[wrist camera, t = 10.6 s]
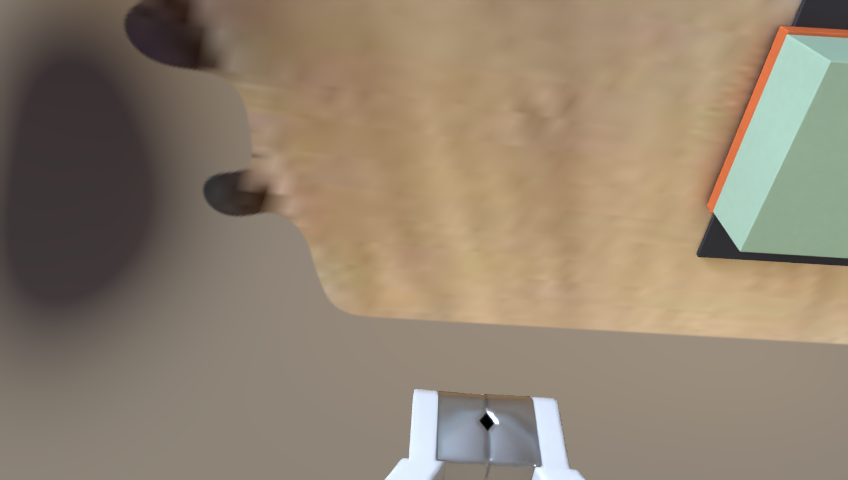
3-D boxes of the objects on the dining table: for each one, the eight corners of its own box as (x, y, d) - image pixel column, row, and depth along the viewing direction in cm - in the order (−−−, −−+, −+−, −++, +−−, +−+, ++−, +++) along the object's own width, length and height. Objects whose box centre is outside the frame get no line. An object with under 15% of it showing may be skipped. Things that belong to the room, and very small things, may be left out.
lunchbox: (736, 259, 36) (874, 268, 36) (836, 48, 28) (1013, 59, 28) (704, 211, 40) (826, 218, 40) (782, 18, 32) (934, 27, 32)
